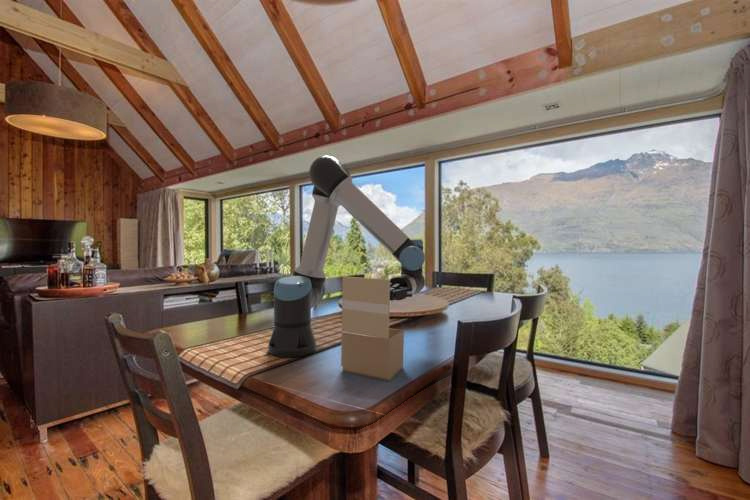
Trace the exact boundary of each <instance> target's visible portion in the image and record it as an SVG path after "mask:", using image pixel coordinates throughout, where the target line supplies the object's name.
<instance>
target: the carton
mask: <svg viewBox="0 0 750 500" xmlns="http://www.w3.org/2000/svg"><path fill="white" fill-rule="evenodd" d="M340 339H341V342H340V344H341V346H340V347H341V348H340V351H341V352H340V366H341V367H342V372H345V373H347V374H348V373H349V374H353V375H357V376H362V377H368V378H371V379H376V380H381V381H385V382H390V381H391V380H392V379H393V378H394V377H396V376H397V375H398V374H399V373H400V372H401V371H402V370H403V369H404V347H405V346H404V344H405V342H404V341H405V330H404V329H398V328H390V327H389V338H388V339H385V338H379V337H373V336H367V335H361V334H355V333H349V332H343V331H341V338H340Z"/></svg>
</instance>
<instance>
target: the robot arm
mask: <svg viewBox="0 0 750 500" xmlns="http://www.w3.org/2000/svg"><path fill="white" fill-rule="evenodd" d="M308 174H309V179H310V182H311V184H312V185H313V187H312V188H313V189H312V192H311V196H312V198H313V199H314V204H313V208H312V211H311V215H310V219H309V220H310V221H309V225H308V228H307V233H306V238H305V242H304V245H303V251H302V254H301V260H300V263H299V265H298V266H297V267H295V268H294V269H293V274H292V275H291V276H285V277H284V276H283V277H282V278H279V279H277V280H276V281H275V283H274V289H273V329H272V332H271V336H270V339H269V341H268V353H269V354H270V355H271V356H274V357H276V358H298V357H304V356H308V355H310V354H312V353H314V352H315V351H316V349H317V341H316V338H315V335H314V332H313V329H312V326H311V325H312V309H314V307H315V306H317V305H319V304H320V302H321V301H322V300H323V298H324V296H325V293H326V286H325V283H326V278H327V275H326V273H325V272H324V268H325V263H326V260H327V256H328V251H329V247H330V244H331V243H330V242H331V239H332V235H333V231H334V226H335V223H336V218H337V214H338V209H339V207H340V206H342V208H344V209H345V210H346V211H347V213H349V215H351V216H352V217H353V218H354V219H355V220H356V222H358V223H359V224H360V225H361V226H362V227H363V228H364V229H365V230H366V231H367V232H368V233H369V234H370V235H371V236H372V237H373V238H375V240H377V242H379V243H380V245H382V246H383V248H385V249H386V250H387V251H388V253H390V254H391V255H392V256H393V257H394V258H395V259H396V260H397V261H398V262H399V264H400V266H401V267H400V275H398V276H393V277H392V278H391V279H389V280H390V301H391V302H393V301H402V300H405V299H407V298H411V297H413V295H416V294H418V293H420V292H421V291H422V290H424V288H425V286H426V278H425V276H424V275H423V265H424V263H425V260H426V255H425V252H424V241H423V240H422V239H418V238H409V236H408V235H407V234H406V233H404V231H403V230H402V229H400V228H399V227H398V226H397V224H396V223H394V221H393V220H391V218H390V217H388V216H387V215H386V214H385V213H384V212H383V211H382V210H381V209H380V208H379V207H378V206H377V204H375V203H374V202H373V201H372V200H370V198H369V197H368V196H367V195H365V193H364V192H362V190H360V188H358V186H357V185H355V184H354V183H353V178H352V176H351V172H350V171H349V170H348V168H347V166H345V165H344V164H343V163H341V162H340V160H339V159H337V158H336V157H334V156H330V155H322V156H319V157H317V158H315V160H313V162H312V163H311V165H310V166H309V172H308Z"/></svg>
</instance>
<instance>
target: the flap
mask: <svg viewBox="0 0 750 500" xmlns="http://www.w3.org/2000/svg"><path fill="white" fill-rule="evenodd" d="M341 289H342V297H341V298H342V299H341V332H349V333H355V334H361V335H367V336H373V337H379V338H385V339H388V338H389V328H390V306H391V305H390V301H391V300H390V279H381V278H372V277H371V278H368V277H357V276H346V275H344V276H342V288H341Z"/></svg>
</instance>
